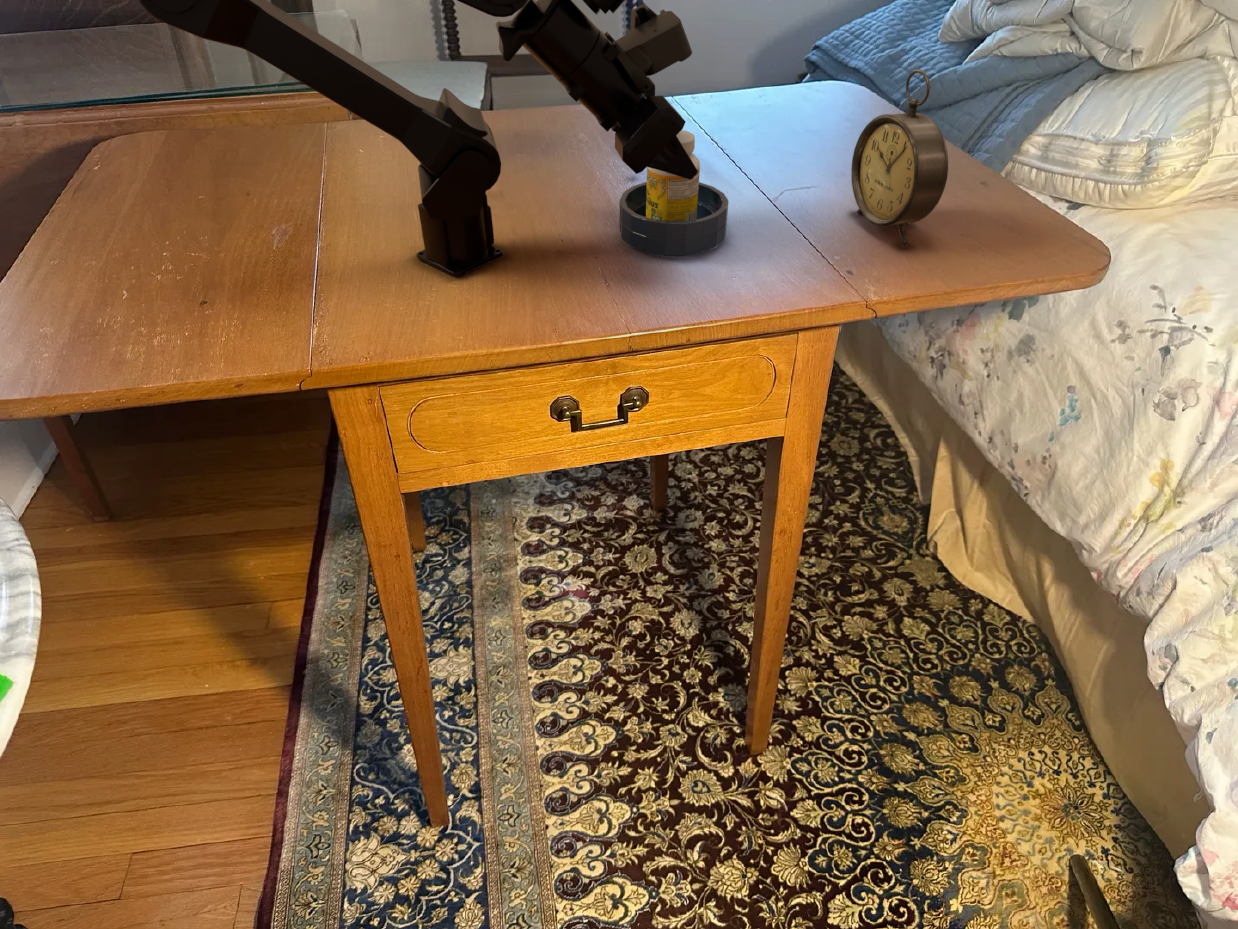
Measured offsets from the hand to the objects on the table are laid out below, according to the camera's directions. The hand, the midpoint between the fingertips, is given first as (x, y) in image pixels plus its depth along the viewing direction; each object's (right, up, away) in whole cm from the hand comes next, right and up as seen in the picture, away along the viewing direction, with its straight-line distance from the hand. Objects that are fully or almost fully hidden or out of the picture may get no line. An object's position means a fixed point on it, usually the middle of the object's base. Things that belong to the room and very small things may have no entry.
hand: (686, 164), depth 88 cm
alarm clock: (+22, -5, +6) cm, 24 cm away
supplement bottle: (-1, -5, +4) cm, 7 cm away
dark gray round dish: (-1, -6, +5) cm, 8 cm away
